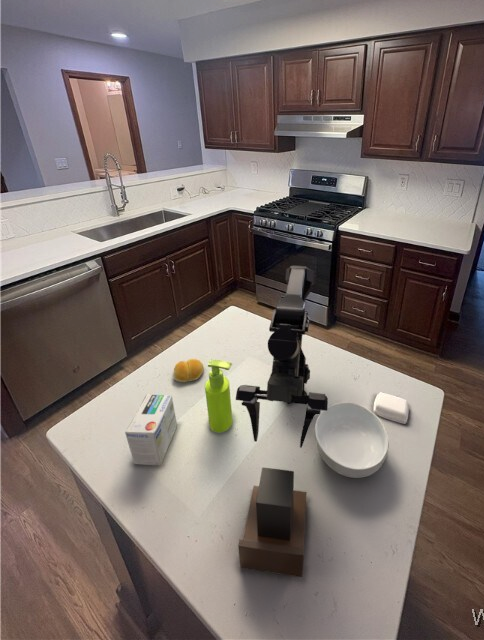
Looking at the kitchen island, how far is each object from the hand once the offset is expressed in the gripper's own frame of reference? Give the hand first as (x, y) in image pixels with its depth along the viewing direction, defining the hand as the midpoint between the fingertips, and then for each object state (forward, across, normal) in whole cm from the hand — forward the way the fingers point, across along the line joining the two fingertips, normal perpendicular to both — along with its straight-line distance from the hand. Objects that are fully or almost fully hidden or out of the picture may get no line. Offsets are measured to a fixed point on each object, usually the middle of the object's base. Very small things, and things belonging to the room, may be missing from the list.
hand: (278, 444), depth 62 cm
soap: (-7, +28, +27) cm, 39 cm away
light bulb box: (+6, -31, +13) cm, 34 cm away
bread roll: (-11, -33, +29) cm, 45 cm away
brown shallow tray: (+15, +1, +4) cm, 15 cm away
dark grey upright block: (+13, +1, +2) cm, 13 cm away
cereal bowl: (+3, +16, +16) cm, 23 cm away
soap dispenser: (+1, -17, +19) cm, 25 cm away
